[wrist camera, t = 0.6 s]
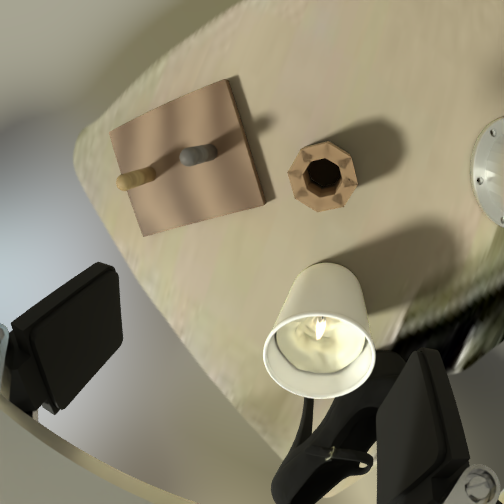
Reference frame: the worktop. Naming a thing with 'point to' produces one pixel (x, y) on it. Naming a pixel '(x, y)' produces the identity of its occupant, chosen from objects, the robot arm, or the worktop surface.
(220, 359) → the worktop surface
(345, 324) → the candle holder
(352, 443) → the high-heeled shoe
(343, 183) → the sleeve
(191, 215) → the pin board
